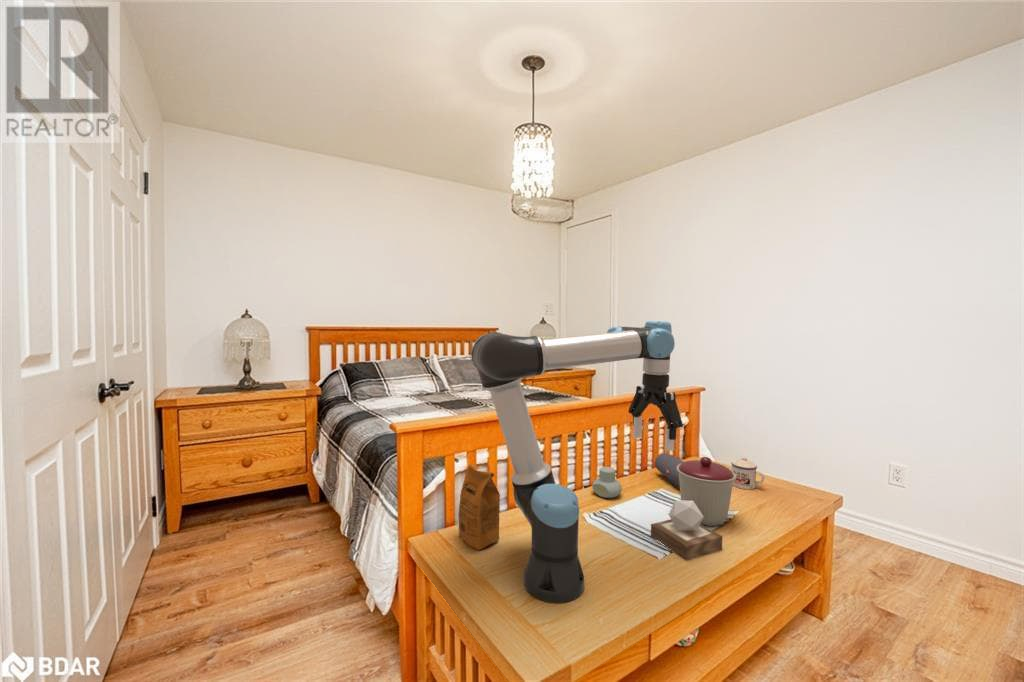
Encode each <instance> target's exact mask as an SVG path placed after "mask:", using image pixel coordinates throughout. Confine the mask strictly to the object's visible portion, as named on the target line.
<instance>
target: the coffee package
mask: <svg viewBox="0 0 1024 682" xmlns="http://www.w3.org/2000/svg"><path fill="white" fill-rule="evenodd" d="M494 477H495V474H494V472H489V471H483V470H482V471H481V470H477V468H476V466H475V465H474V464H473V463H469V464H468V467H467V470H466V473H465V476H464V480H463V482H462V486H461V489H460V496H459V507H458V513H457V515H458V538H459V539H461V540H463V541H464V542H465V544H466V545H467V546H468V547H471V548H474V549H475V550H479V551H480V550H483V549H484V548H487V546H490V545H491V544H494V543H496V542H497V541H499V539H500V513H501V511H500V509H501V507H500V506H501V505H500V501H501V500H500V497H501V494H500V491H499V490H498V488H497V486H496V484H495V482H494V480H493V478H494Z"/></svg>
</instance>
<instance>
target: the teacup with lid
mask: <svg viewBox="0 0 1024 682" xmlns="http://www.w3.org/2000/svg"><path fill="white" fill-rule="evenodd" d="M757 468H758V466H757V464H756V463H754V462H752V461H750V460H749V459H748V458H747V456H742V457H741V458H739V459H734V460H732V461H731V471H733V472H734V473H735V474H736V478H735V479H734V480H733V486H732V487H735V488H738V489H740V490H741V489H742V490H747V491H748V490H750V491H751V490H755V488H756V484H757V485H759V484H762V483H764V481H765V474H764V473H763V472H761V471H758V470H757ZM757 474H758V475H760V476H761V480H760V481H756V480H757Z"/></svg>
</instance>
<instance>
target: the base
mask: <svg viewBox="0 0 1024 682" xmlns="http://www.w3.org/2000/svg"><path fill="white" fill-rule="evenodd" d="M651 536H652V537H653V538H655V539H656V540H658V541H660V542H661V543H662V544H664V545H665V546H667V547H668V548H669V549H668V548H667V547H666V548H667V549H668V550H670V549H671V550H672V551H671V550H670V551H671V552H673V553H675V554H676V555H677V556H679V557H680V558H682V559H684V560H685V561H689V560H693V559H696V558H700V557H702V556H705V555H709V554H712V553H714V552H715V553H716V552H718V551H721V550H723V535H721V534H719V533H717V532H716V531H714V530H712V529H710V528H708V527H706V525H701V524H700V525H699V527H698V529H697V531H678V530H677V528H676V526H675V525H674V523H673V521H672V519H671V518H670V519H666V520H663V521H659V522H655V523H651V524H650V537H651ZM652 537H651V538H652ZM653 538H652V539H653ZM655 539H654V540H655ZM656 540H655V541H656ZM658 541H657V542H658ZM661 543H660V544H661ZM662 544H661V545H662ZM664 545H663V546H664ZM665 546H664V547H665Z"/></svg>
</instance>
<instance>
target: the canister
mask: <svg viewBox="0 0 1024 682" xmlns="http://www.w3.org/2000/svg"><path fill="white" fill-rule="evenodd" d="M677 471H678V472H679V482H680V488H679V494H680V500H686V501H694V503H695V504H696V506H697V507H698V509H699V510H700V512H701V513H702V515H703V519H702V521H701V523H700V524H701V525H703V526H705V527H706V526H708V527H715V526H721V525H722V524H723V523H725V522H726V520H727V518H728V513H729V509H730V504H731V503H730V502H731V497H732V491H733V487H734V486H733V480H734V479H735V478H736V474H735V473H734V472H733V471H732V469H730V468H729V467H727V466H724V465H723V464H721V463H716V462H713V461H712V459H711V458H710V457H708V456H702V457H701V458H700V459H699V460H698V459H697V460H694V459H693V460H687V461H686V460H685V461H683V463H681V464H679V465H678V466H677Z"/></svg>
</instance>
